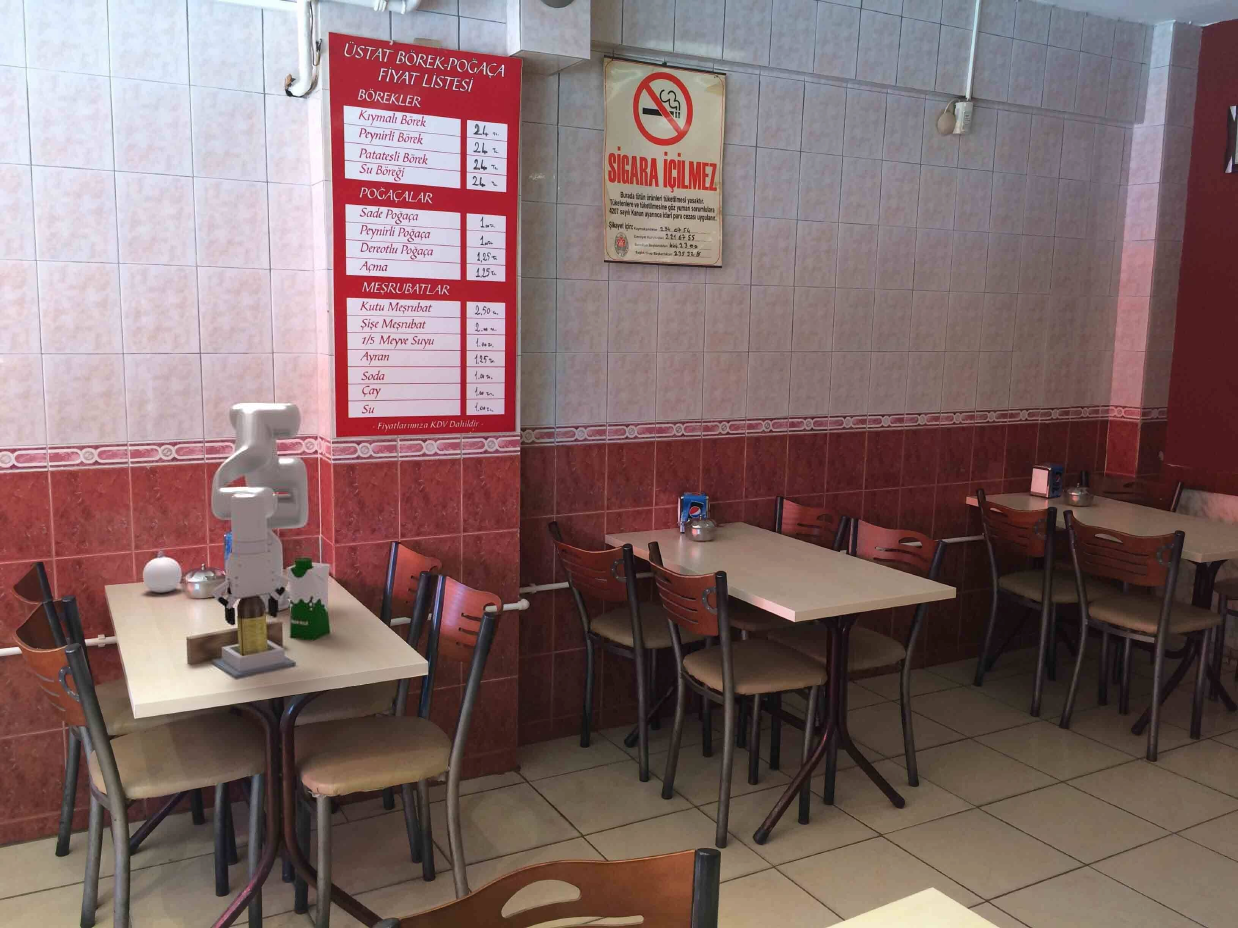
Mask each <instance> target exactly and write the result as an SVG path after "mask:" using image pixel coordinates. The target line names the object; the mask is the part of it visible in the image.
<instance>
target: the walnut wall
mask: <svg viewBox="0 0 1238 928" xmlns="http://www.w3.org/2000/svg"><path fill="white" fill-rule="evenodd" d="M266 627H267V640H269V641H271V642H272V643H274V644H276V645H278V646H280V647H283V646H284V641H283V640H284V636H283V631H284V630H283V621H281V620H280V619H279V620H273V621H266ZM185 639H186V659H187V660H186V661H187V664H189V665H195V664H200V663H205V662H210V661H211V660H212V659H217V658H222V647H226V646H231V645H237V644H238V627H233V628H229V629H228V628H227V629H223V630H218V631H213V632H207V633H201V634H197V635H196V634H195V635H191V636H190V635H189V636H186V637H185Z"/></svg>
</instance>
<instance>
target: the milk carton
mask: <svg viewBox="0 0 1238 928" xmlns="http://www.w3.org/2000/svg"><path fill="white" fill-rule="evenodd" d="M330 569H331V564H329V563H323V562H322V563H321V562H320V563H319V562H313V559H312V558H311V557H299V558H296V559H295V560H294V565H291V566H289V567H288V566H287V567H286V572H287V573H286V574H287V577H288V578H287V579H288V580H289V582H288V583H289V590H290V599H289V602H290V606H289V609H290V611H289V612H290V613H289V614H290V616H289V617H290V618H289V621H290V622H289V626H290V627H289V637H290V638H293V639H300V640H309V641H316V640H317V639H319V638H322V637H325V636H326V635H329V634H330V633H331V626H330V617H329V590H328V588H329V587H328V585H329V584H328V583H329V575H330Z"/></svg>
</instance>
